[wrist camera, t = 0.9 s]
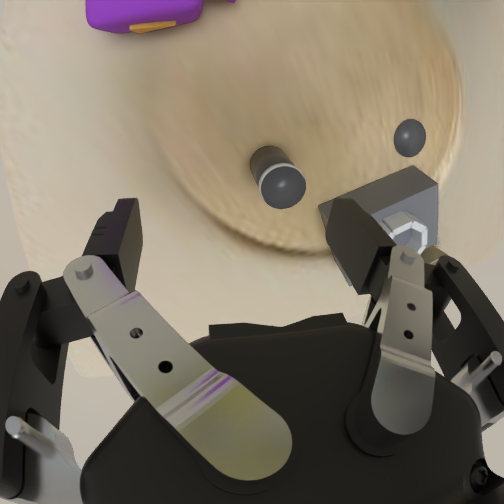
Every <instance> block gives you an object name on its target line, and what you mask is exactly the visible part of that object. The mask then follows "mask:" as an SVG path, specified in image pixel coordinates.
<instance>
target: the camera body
mask: <svg viewBox="0 0 504 504" xmlns="http://www.w3.org/2000/svg"><path fill="white" fill-rule="evenodd" d="M337 198H352V199H354V200H355V201H356V202H357V204H358V205H359V206H360V207H361V208H362V209H363V210H364V211H365V212H367V213H368V214H370V215H371V216H372V217H373V218H374V219H375V220H376V221H377V222H378V224H379V225H380V226H381V227H382V228H383V230H385V231H386V233H387V234H388V235H389V236H390V237H391V238H392V240H393V241H394V242H395V243H396V244H397V245H402V246H406V247H409V248H411V249H413V250H415V251H416V252H417V253H419V254H420V255H421V253H422V252H423V250H425V249H426V248H428V247H430V246H432V245H434V244H436V243H437V234H438V183H436V182H435V181H434V180H433V179H431V178H430V177H429V176H427V175H426V174H425V173H423V172H422V171H420V170H419V169H418V168H416V167H415V166H410V167H408V168H405V169H403V170H401V171H398V172H396V173H393V174H391V175H389V176H386V177H384V178H382V179H379V180H377V181H374V182H372V183H370V184H367V185H365V186H363V187H360V188H358V189H356V190H353V191H351V192H349V193H346V194H344V195H342V196H339V197H337ZM333 201H334V199H332V200H330V201H328V202H326V203H323V204H321V205H319V206H318V207H319V210H320V213H321V216H322V219H323V222H324V226H325V229H326V227H327V223H328V219H329V215H330V211H331V207H332V204H333ZM332 252H333V251H332ZM333 256H334V260H335V262H336V263H337V265H338V267H339V269H340V270H341V272H342V274H343V276H344V277H345V279H346V281H347V283H348V285H349V286H352V283H351V281H350V280H349V278H348V276H347V275H346V273H345V271H344V270H343V268H342V266H341V264H340V263H339V261H338V259H337V258H336V256H335V254H334V253H333Z"/></svg>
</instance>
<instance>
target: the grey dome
mask: <svg viewBox="0 0 504 504" xmlns="http://www.w3.org/2000/svg"><path fill="white" fill-rule="evenodd" d="M425 140H426V132H425V129H424V127H423V125H422V124H421V123H420V122H418V121H416V120H414V119H408V120H405V121H403V122H402V123H401V124H400V125H399V126H398V128H397V129H396V132H395V135H394V145H395V148H396V150H397V151H398V152H399V153H400V154H401V155H403V156H405V157H413V156H415V155H417V154H418V153H419V152H420V151H421V150H422V148H423V146H424V144H425Z"/></svg>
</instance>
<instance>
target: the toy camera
mask: <svg viewBox="0 0 504 504" xmlns="http://www.w3.org/2000/svg"><path fill="white" fill-rule="evenodd" d="M227 1H229V2H232V3H234V2H235V1H236V0H227ZM202 7H203V0H86V18H87V22H88V24H89V25H90V26H91V27H92V28H95V29H98V30H102V31H107V32H111V33H127V32H132V31H133V32H136V33H139V34H140V33H144V32H148V31H153V30H157V29H162V28H166V27H171V26H176V24H182V23H188V22H192V21H194V20H196V19H197V18H198V17H199V16H200V14H201V12H202Z"/></svg>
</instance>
